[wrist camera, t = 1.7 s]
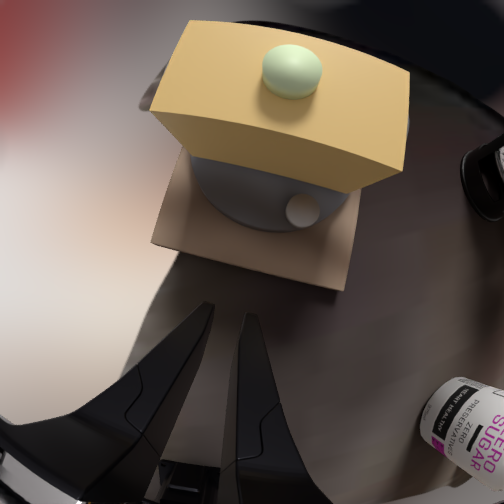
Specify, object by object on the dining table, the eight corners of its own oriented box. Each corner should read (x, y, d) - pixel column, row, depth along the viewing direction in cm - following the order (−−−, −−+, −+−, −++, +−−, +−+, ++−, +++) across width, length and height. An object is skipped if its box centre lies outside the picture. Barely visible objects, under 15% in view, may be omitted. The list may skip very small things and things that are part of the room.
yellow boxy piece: (352, 195, 20) (421, 171, 10) (186, 154, 20) (132, 101, 10) (364, 126, 20) (425, 68, 10) (207, 88, 20) (177, 9, 10)
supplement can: (465, 422, 21) (544, 461, 6) (413, 450, 21) (490, 514, 6) (470, 365, 22) (568, 389, 7) (417, 391, 22) (521, 444, 7)
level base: (337, 290, 23) (354, 291, 19) (156, 245, 23) (139, 236, 19) (363, 105, 26) (376, 84, 22) (220, 70, 26) (218, 45, 22)
